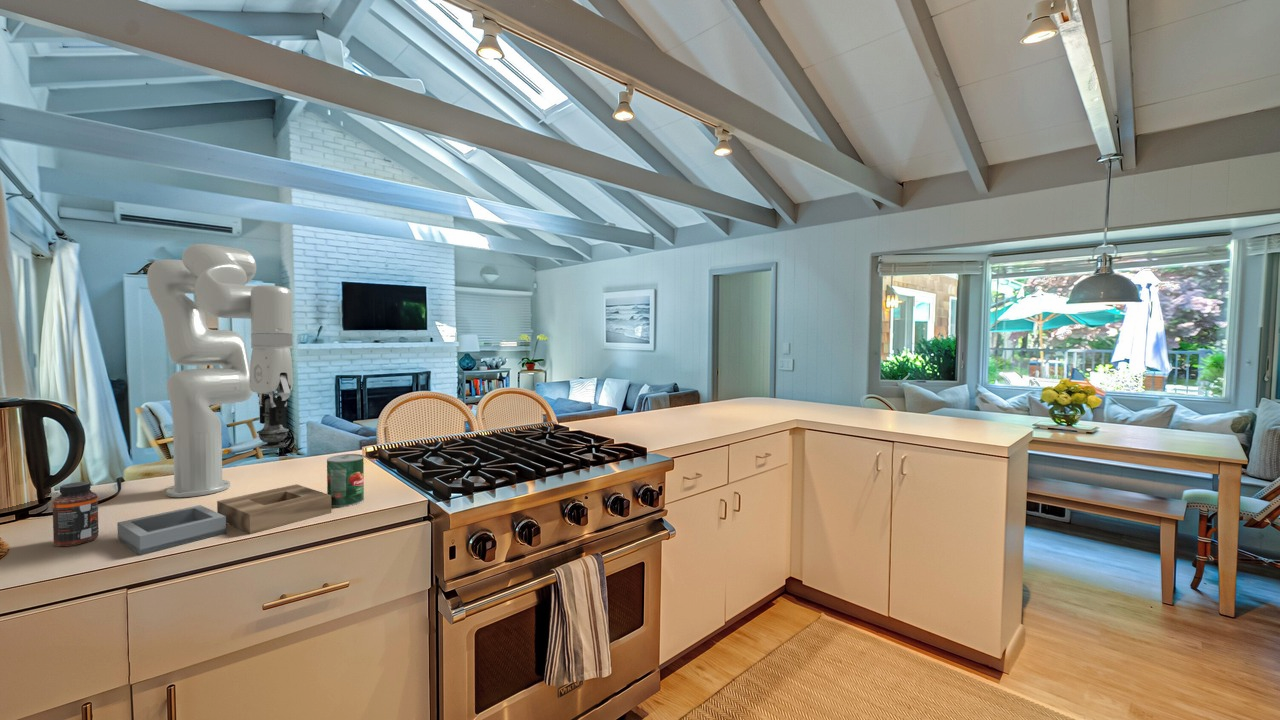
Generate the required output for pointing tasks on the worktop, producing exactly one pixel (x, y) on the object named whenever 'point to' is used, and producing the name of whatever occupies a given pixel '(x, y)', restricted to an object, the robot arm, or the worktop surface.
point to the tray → (170, 529)
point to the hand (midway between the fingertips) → (273, 423)
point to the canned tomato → (345, 479)
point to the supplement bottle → (75, 515)
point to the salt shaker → (271, 432)
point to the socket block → (274, 508)
